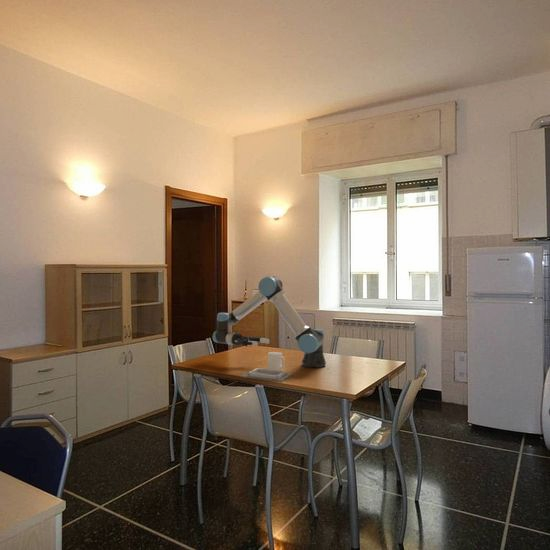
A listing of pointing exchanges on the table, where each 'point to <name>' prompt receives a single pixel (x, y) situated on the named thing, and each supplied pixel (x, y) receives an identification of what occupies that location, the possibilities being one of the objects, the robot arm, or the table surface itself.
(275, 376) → the rail plate
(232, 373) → the table surface
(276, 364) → the cup
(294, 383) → the table surface
